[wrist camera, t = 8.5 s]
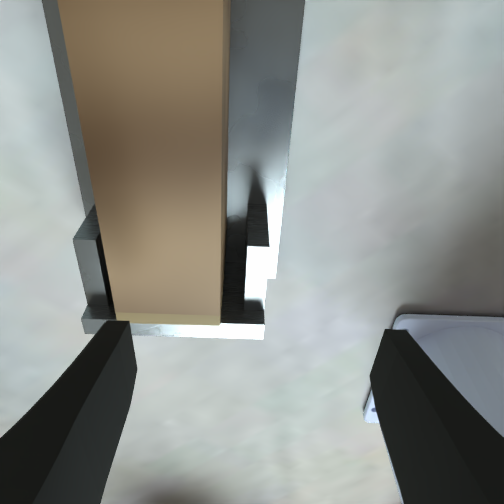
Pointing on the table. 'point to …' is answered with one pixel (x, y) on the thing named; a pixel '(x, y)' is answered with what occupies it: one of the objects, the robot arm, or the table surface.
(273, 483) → the table surface
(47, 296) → the table surface
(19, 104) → the table surface
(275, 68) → the brackets
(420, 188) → the table surface
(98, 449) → the robot arm
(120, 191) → the brown wooden block
